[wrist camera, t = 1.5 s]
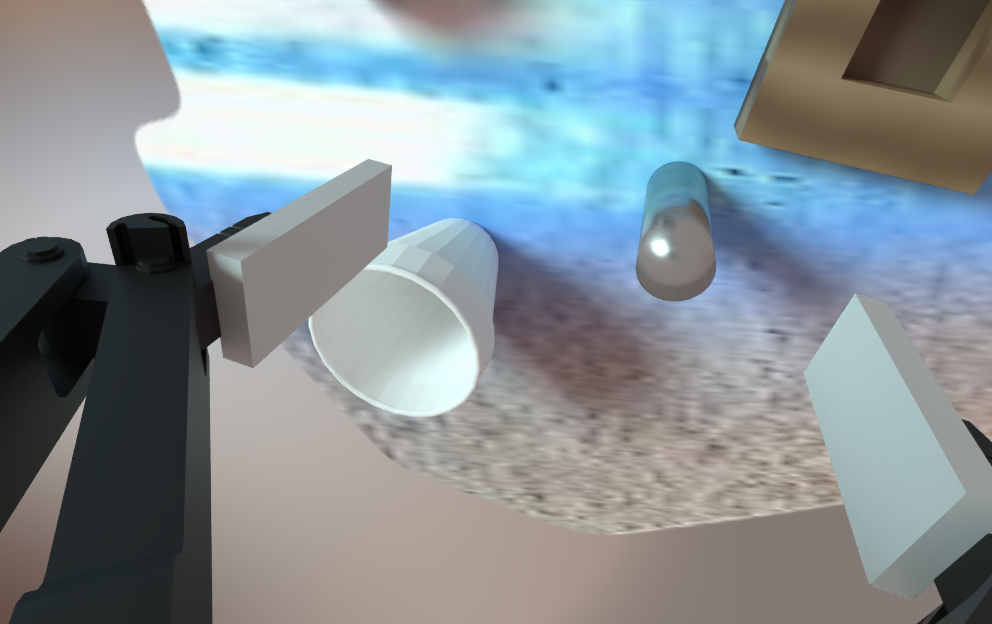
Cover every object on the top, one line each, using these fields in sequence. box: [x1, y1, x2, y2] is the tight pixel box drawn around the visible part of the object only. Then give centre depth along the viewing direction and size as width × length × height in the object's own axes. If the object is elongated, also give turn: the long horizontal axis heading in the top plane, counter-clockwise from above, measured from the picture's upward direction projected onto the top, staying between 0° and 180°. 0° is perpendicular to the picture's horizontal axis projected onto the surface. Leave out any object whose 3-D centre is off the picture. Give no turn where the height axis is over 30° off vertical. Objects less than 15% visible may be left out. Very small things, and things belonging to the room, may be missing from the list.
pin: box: [636, 161, 716, 301], centre depth 33 cm, size 4×4×12 cm
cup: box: [309, 218, 499, 417], centre depth 40 cm, size 12×12×14 cm
